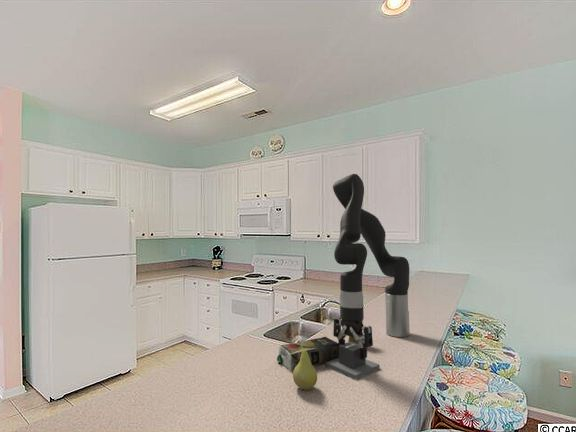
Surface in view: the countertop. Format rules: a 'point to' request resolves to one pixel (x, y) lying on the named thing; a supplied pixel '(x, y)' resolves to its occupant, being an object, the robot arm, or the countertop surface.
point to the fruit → (304, 372)
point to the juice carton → (316, 349)
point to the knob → (350, 355)
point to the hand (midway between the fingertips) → (352, 355)
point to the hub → (351, 372)
